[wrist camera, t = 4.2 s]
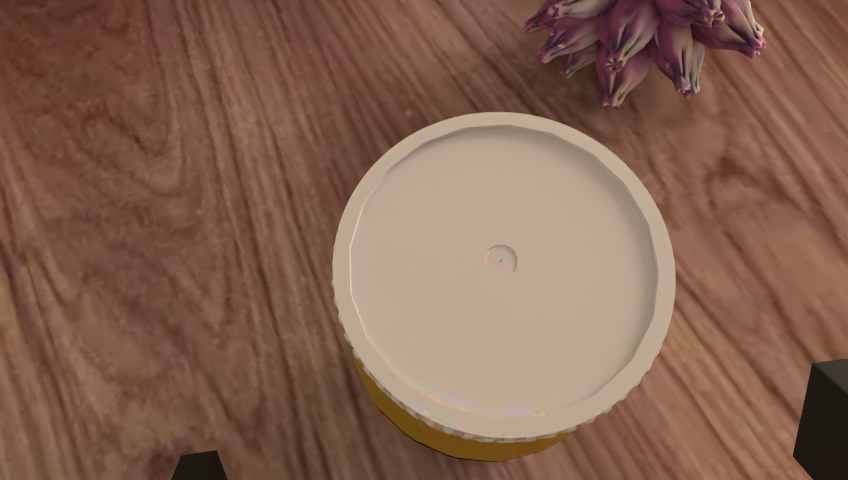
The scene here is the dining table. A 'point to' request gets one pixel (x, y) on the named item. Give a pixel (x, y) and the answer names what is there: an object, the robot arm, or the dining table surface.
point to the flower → (644, 38)
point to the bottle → (501, 283)
